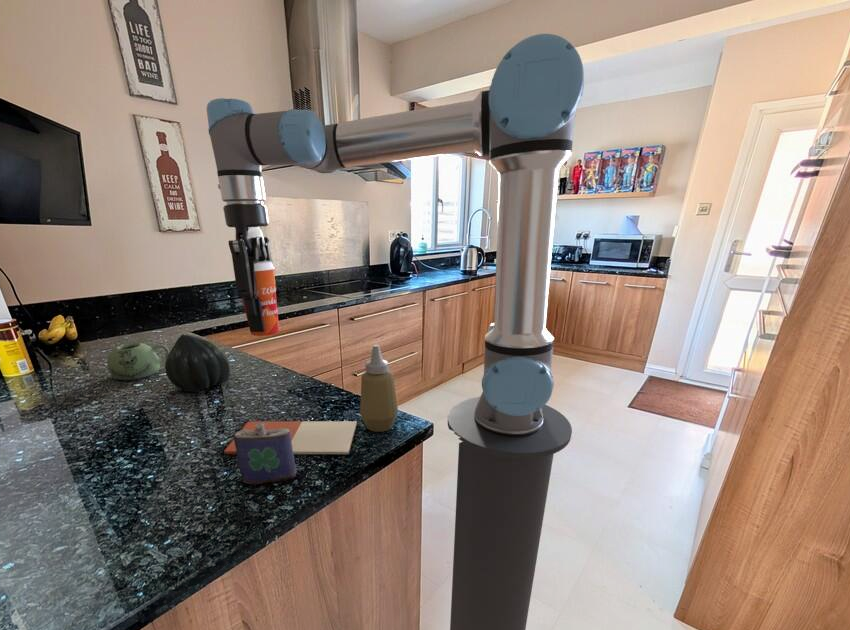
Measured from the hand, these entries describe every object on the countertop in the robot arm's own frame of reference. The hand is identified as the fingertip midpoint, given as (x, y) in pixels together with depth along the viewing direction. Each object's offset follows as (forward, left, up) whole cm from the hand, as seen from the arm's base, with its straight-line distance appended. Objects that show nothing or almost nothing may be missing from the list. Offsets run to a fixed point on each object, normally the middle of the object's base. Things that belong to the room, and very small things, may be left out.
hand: (264, 326), depth 81 cm
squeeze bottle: (-23, +4, -21) cm, 32 cm away
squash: (+27, -18, -21) cm, 38 cm away
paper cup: (0, 0, -1) cm, 1 cm away
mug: (+50, -28, -21) cm, 61 cm away
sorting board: (-6, +9, -21) cm, 24 cm away
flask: (-6, +23, -21) cm, 32 cm away
